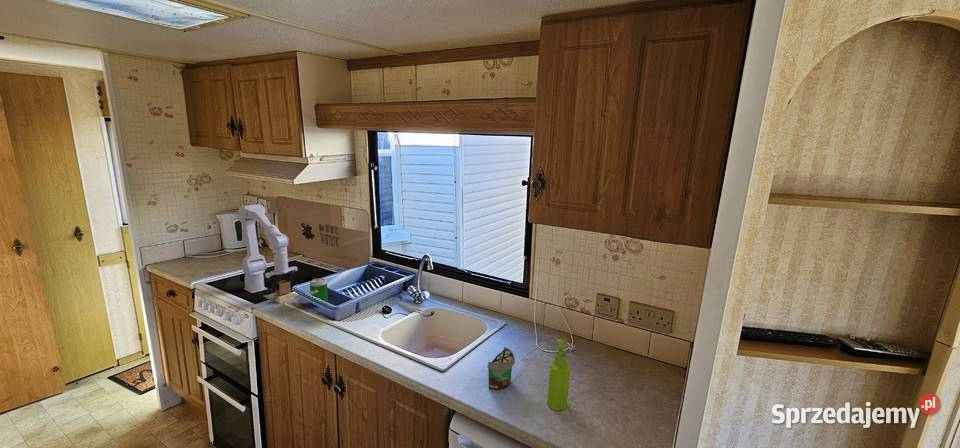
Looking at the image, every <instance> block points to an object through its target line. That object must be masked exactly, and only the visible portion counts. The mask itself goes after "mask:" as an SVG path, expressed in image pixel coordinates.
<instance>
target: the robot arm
mask: <svg viewBox="0 0 960 448" xmlns="http://www.w3.org/2000/svg"><path fill="white" fill-rule="evenodd" d="M237 211H238V217H239V222H240V223H242V227H243V234H244V241H245V246H246V252H247V254H246V256H245V257H244V258H243V259H242V260H241V263H242V266H241V269H242V272H243V273H244V288H243V290H246V291H247V292H249V293H252V294H253V293H257V292H262V291H265V290H268V287H265V280H264V279H265V278H266V279H270V281H271V282H272V284H273V287H274V291H275V290H277V291H278V290H279V281H280V277H279V275H284V276H285V280H287V281H289V282H290V284H292V281H293V278H294V276H295V275H296V274H295V272H297V271H298V267H297V265H296V266H289V261H288V259H289V258H288V247H289V246H290V239H289V237H288V235H286V234H284V233H281V231H280V229H278V227H277V226H276V225H275V224H271V222H270V220H269V218H268V217H267V215H266V209H265V206H263V204H262V203H257V204H249V205H241V206H240V207H239V208H238V210H237ZM256 222H257V223H258V224H259V225H260V226H261V227H262V228H263V234H265V236H266V237H267V239H268V240H269V244H270V247H271V251H272V253H273V264H274V270H271V271H269V272H265V271H266V270H267V268H268V263H267V261H266V258H265V256H264V255H262V254H260V252H259V251H260V250H259V244H258V238H257V237H258V236H257V232H256V225H255V223H256ZM264 277H265V278H264Z"/></svg>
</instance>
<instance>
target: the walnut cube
mask: <svg viewBox="0 0 960 448" xmlns="http://www.w3.org/2000/svg"><path fill="white" fill-rule="evenodd" d="M291 284H292V283H291ZM291 284H290V282H289V281H287V280H286V279H283V280H282V279H281V280H279V290H278V291H277V290H275V289H274V293H278V294H280V295H282V294H286V293H290V292H292V288H291Z"/></svg>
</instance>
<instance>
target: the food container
mask: <svg viewBox="0 0 960 448" xmlns="http://www.w3.org/2000/svg"><path fill="white" fill-rule="evenodd" d="M515 363H516V358H515V355H514V352H513V351H512V349H510V348H508V347H506V346H503V350H501V352H500V353H498V354H497V355H496V356H495V357H494V358H493V360H492V361H488V363H487V369H488V371H487V372H488V374H487V375H488V389H489V390H491V389H494V390H493V391H502V390H501V389H503V390H506V389H508V388H509V387H510V385H511V379H512V371H513V366H514V365H515ZM508 386H509V387H508ZM507 387H508V388H507ZM505 388H506V389H505Z"/></svg>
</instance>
